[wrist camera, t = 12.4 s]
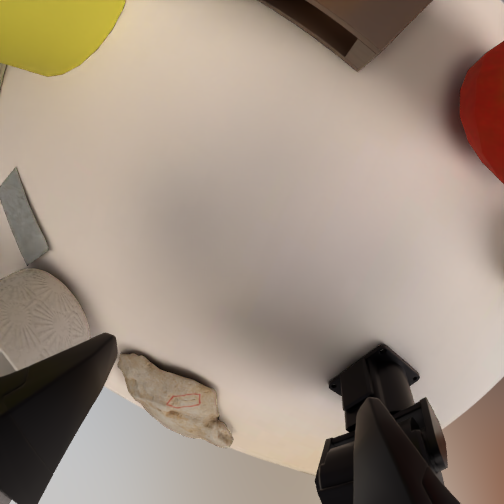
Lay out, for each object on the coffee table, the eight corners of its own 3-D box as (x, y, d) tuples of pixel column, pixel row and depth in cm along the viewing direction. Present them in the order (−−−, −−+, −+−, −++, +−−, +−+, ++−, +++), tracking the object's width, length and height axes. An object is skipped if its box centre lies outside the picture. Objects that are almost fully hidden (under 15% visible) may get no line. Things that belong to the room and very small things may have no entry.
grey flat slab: (16, 165, 21) (19, 165, 22) (-4, 189, 23) (-1, 188, 23) (47, 252, 23) (50, 250, 24) (24, 267, 25) (27, 265, 25)
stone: (236, 433, 31) (231, 453, 28) (155, 425, 33) (147, 442, 30) (204, 350, 26) (195, 372, 23) (110, 347, 28) (96, 364, 26)
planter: (13, 240, 25) (-62, 288, 15) (101, 279, 25) (22, 356, 15) (27, 329, 30) (-24, 381, 20) (106, 371, 30) (58, 442, 20)
